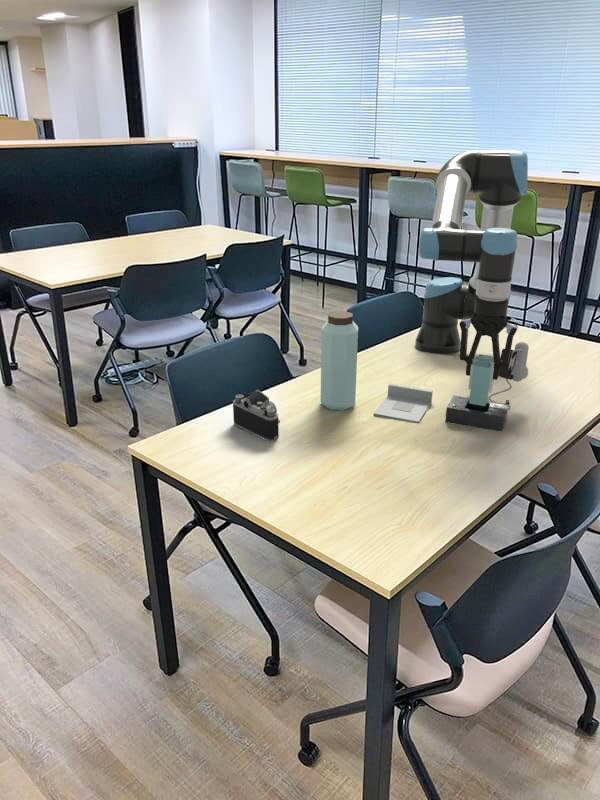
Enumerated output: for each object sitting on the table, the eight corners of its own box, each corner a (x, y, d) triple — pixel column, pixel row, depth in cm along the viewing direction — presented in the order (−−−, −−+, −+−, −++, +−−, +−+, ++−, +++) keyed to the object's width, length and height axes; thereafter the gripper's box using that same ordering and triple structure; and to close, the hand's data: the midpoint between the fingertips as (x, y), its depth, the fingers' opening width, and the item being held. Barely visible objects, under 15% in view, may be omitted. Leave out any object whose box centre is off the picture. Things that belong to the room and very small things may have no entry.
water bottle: (313, 407, 169) (314, 317, 159) (329, 393, 177) (331, 307, 167) (347, 414, 165) (350, 322, 154) (362, 400, 173) (366, 312, 162)
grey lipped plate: (388, 395, 176) (389, 383, 175) (431, 402, 172) (432, 390, 170) (373, 415, 164) (374, 402, 163) (418, 423, 160) (420, 411, 159)
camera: (296, 432, 156) (296, 395, 152) (271, 444, 151) (270, 405, 146) (254, 413, 166) (253, 377, 162) (229, 423, 161) (228, 387, 156)
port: (451, 410, 167) (453, 394, 165) (509, 420, 162) (511, 403, 160) (445, 423, 160) (446, 406, 158) (504, 434, 155) (507, 416, 153)
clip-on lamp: (504, 418, 163) (514, 352, 155) (482, 411, 167) (491, 346, 159) (526, 404, 170) (536, 341, 163) (504, 397, 174) (513, 335, 167)
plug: (471, 397, 161) (477, 353, 156) (487, 400, 159) (493, 355, 155) (468, 403, 158) (474, 358, 153) (485, 406, 156) (491, 360, 151)
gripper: (452, 297, 148) (442, 389, 157) (528, 305, 141) (513, 400, 151) (458, 289, 154) (448, 378, 163) (531, 297, 148) (517, 389, 157)
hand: (480, 388), depth 157 cm, fingers closed on plug, 4 cm apart
